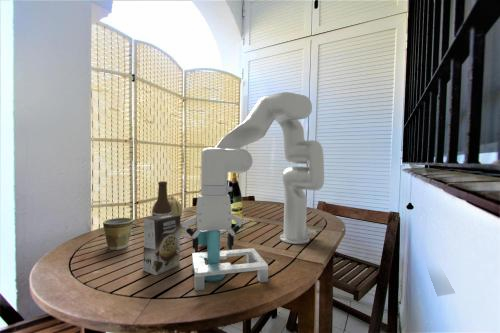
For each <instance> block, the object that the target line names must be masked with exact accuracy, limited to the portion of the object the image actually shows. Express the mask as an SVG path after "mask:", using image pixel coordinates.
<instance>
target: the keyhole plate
mask: <svg viewBox="0 0 500 333" xmlns="http://www.w3.org/2000/svg"><path fill="white" fill-rule="evenodd" d="M239 256H240V257H241V256H246V263H239V264H238V263H236V264H232V263H231V262H222V263H221V262H220V263H219V264H209V265H207V264H206V263H205V262H207V251H204V252H197V253H195V252H192V256H191V257H192V258H191V262H192V263H191V264H192V265H191V267H192V272H193V271H194V282H193V283H194V291H202V290H203V291H204V290H205V276H210V275H219V274H225V275H226V274H236V273H245V272H254V271H255V272H256V271H257V272H256V276H257V277H256V279H257V281H258V282H259V283H268V282H269V265H268V264H267V262H266V261H265V260H264V258H263V257H262V256H261V255H260V253H259V252H258V251H257V250H256V249H255V248H254V247H253V248H251V247H250V248H241V249H240V248H239V249H232V250H230V249H227V250H220V261H221V260H227V258H228V257H239Z"/></svg>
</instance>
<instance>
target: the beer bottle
mask: <svg viewBox="0 0 500 333" xmlns="http://www.w3.org/2000/svg"><path fill="white" fill-rule="evenodd" d="M157 184H158V190H157V199H156V201H157V202H156V201H155V202H156V203H155V202H154V203H153V205H154V207H153V206H152V207H153V216H156V215H161V214H166V213H169V214H172V207H171V204H170V203H169V201H168V198H167V197H168V187H167V185H168V181H166V180H165V181H158V182H157Z"/></svg>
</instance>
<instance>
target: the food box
mask: <svg viewBox="0 0 500 333" xmlns="http://www.w3.org/2000/svg"><path fill="white" fill-rule="evenodd" d="M180 216H181V217H182V215H176V214H169V213H166V214H161V215H156V216H152V215H151V216H147V217H143V218H144V220H143V222H144V223H143V226H144V227H143V255H142V256H143V258H142V259H143V260H142V261H143V262H142V263H143V264H142V266H143V267H142V271H144V272H147V273H149V274H151V275H154V276H158V275H159V274H163V273H165V272H167V271H169V270H171V269H173V268H176V267H179V266H180V263H181V262H180V260H181V258H180V257H181V256H180V255H181V217H180Z"/></svg>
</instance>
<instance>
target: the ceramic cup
mask: <svg viewBox="0 0 500 333" xmlns="http://www.w3.org/2000/svg"><path fill="white" fill-rule="evenodd" d="M133 222H134V219H133V218H129V217H116V218H115V217H114V218H109V219H106V220H103V222H102V226H103V231H104V236H105V241H106V245H107V248H108V249H109V250H111V251H112V250H113V251H116V250H117V251H119V250H122V249H125V248H127V247H128V246H129V244H130V237H131V231H132V228H133V224H134V223H133Z"/></svg>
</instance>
